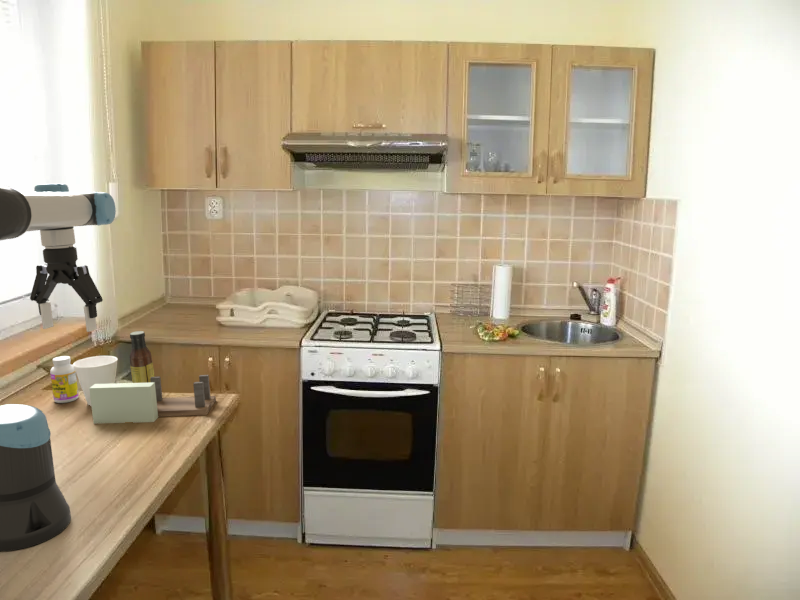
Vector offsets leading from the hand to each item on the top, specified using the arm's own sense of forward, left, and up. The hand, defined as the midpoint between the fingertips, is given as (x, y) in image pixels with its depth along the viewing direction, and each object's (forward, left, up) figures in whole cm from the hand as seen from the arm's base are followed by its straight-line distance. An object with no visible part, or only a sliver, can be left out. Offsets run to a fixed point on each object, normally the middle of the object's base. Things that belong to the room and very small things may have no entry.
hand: (69, 329), depth 167 cm
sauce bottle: (+22, -9, -27) cm, 36 cm away
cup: (+19, +3, -27) cm, 33 cm away
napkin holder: (+11, -22, -27) cm, 36 cm away
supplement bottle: (+22, +14, -27) cm, 38 cm away
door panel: (+4, -10, -27) cm, 29 cm away
